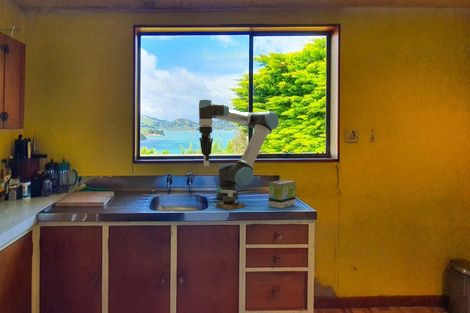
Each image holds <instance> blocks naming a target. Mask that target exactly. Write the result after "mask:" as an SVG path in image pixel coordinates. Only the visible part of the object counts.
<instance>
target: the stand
mask: <svg viewBox="0 0 470 313" xmlns="http://www.w3.org/2000/svg"><path fill="white" fill-rule="evenodd" d="M215 206H216V208H219V209H220V208H221V209H223V210H226V211H231V210H237V209H242V208H244V209H245V206H246V205H245V203H242V202H238V201H236V200H235V203H232V204H224V203H223V201H221V202H217V203H216V205H215Z"/></svg>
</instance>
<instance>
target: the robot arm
mask: <svg viewBox="0 0 470 313" xmlns="http://www.w3.org/2000/svg"><path fill="white" fill-rule="evenodd" d="M198 117H199V119H198V122H199V123H198V124H199V127H198V128H199V130H198V132H199V134H201V136H200V137H199V138H198V140H199V141H200V142H199V144H200V151H201V154H202V156H203V167H210V155H211V154H212V146H213V140H214V139H213V138H212V136H211V134H213V119H215V120H216V119H217V120H221V121H226V122H230V123H236V124H241V125H242V126H244V127H247V128H252V129H254V132H253V134H252V136H251V137H250V140H249V141H248V144H247V146H246V147H245V150H244V152H243V154H242V155H241V158H240V160H237V161H236V162H235V163H223V164H220V165H218V170H217V171H218V187H220V188H222V190H236V193H233V196H235V200H238V199H239V198H240V195H239V192H238V189H237V185H238V186H247V185H249V184H251V182H252V181H253V179H254V167H253V165H254V163H255V161H256V159H257V157H258V156H259V152H260V151H261V148H262V146H263V145H264V142H265V140H266V138H267V136H269V135H270V134H271V133H272V131H273V130H275V129H277V128H278V127H279V122H280V121H279V116H278V114H276V113H275V111H269V110H267V111H258V112H257V111H256V112H249V111H248V112H247V111H245V112H241V111H236V110H232V109H230V107H229V105H228V104H227V103H226V104H225V103H213V102H212V100H211V99H200V100H199V101H198ZM226 195H228V193H222V194H217V193H216V194H215V196H216V199H217V200H223V196H226Z"/></svg>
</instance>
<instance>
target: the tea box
mask: <svg viewBox="0 0 470 313" xmlns="http://www.w3.org/2000/svg"><path fill="white" fill-rule="evenodd" d="M296 186H297V182H296V181H295V180H288V179H287V180H286V179H282V180H274V181H269V182H268V207H271V208H276V209H277V208H278V209H284V208H288V207H291V205H292V206H295V205H296V192H297V188H296ZM294 204H295V205H294Z"/></svg>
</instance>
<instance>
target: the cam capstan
mask: <svg viewBox="0 0 470 313" xmlns="http://www.w3.org/2000/svg"><path fill="white" fill-rule="evenodd" d="M222 193H228V195H226V196H223V201H222V202H223V203H224V204H232V203H235V201H236V199H235V196H233V193H236V190H222V188H220V187H219V186H218V187H216V194H222Z"/></svg>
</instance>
